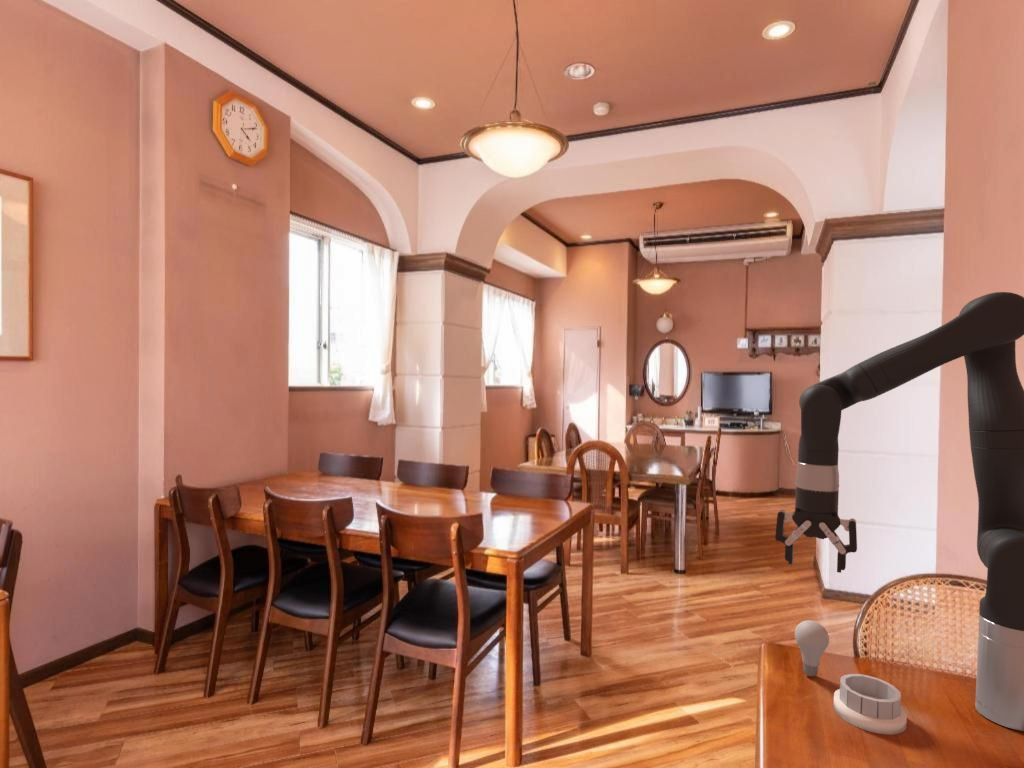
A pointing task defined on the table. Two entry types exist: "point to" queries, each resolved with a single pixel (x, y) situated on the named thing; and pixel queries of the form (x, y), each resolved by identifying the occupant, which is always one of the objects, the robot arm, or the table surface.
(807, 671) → the lightbulb
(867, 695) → the lamp base
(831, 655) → the table surface
